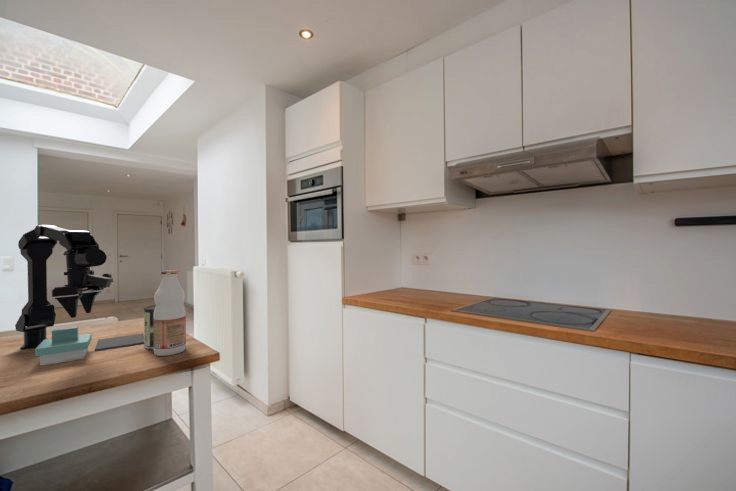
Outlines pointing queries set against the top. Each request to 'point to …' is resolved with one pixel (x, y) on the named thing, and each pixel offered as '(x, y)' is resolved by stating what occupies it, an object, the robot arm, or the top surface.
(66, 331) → the lid
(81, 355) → the box
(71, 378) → the top surface
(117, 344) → the mat
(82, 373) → the top surface
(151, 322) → the coffee can
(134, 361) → the top surface
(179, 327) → the fruit juice
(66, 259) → the robot arm
